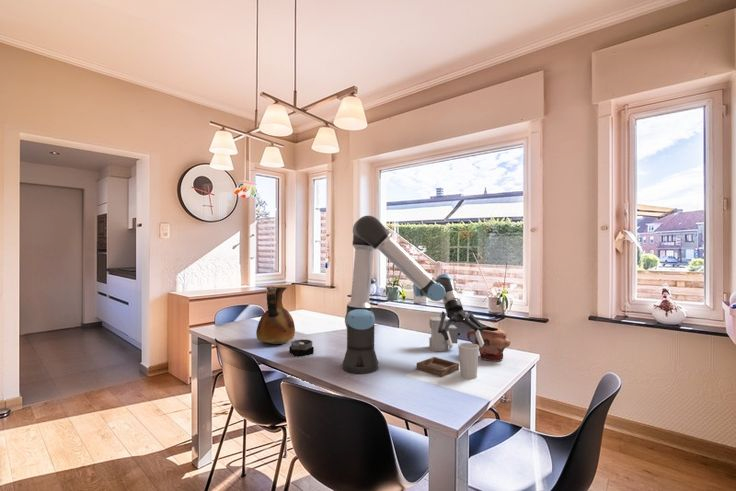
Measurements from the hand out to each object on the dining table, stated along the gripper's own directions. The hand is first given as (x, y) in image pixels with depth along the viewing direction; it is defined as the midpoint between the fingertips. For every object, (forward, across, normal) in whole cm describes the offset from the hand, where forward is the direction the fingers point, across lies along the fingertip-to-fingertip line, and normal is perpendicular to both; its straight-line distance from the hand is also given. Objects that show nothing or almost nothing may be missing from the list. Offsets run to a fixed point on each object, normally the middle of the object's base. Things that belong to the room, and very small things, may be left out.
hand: (466, 346), depth 143 cm
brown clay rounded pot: (-3, -17, -18) cm, 25 cm away
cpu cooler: (-17, +68, -32) cm, 77 cm away
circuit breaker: (-15, -3, -30) cm, 34 cm away
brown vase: (-32, +82, -46) cm, 99 cm away
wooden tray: (+5, +11, -10) cm, 16 cm away
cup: (+11, +2, -4) cm, 12 cm away
